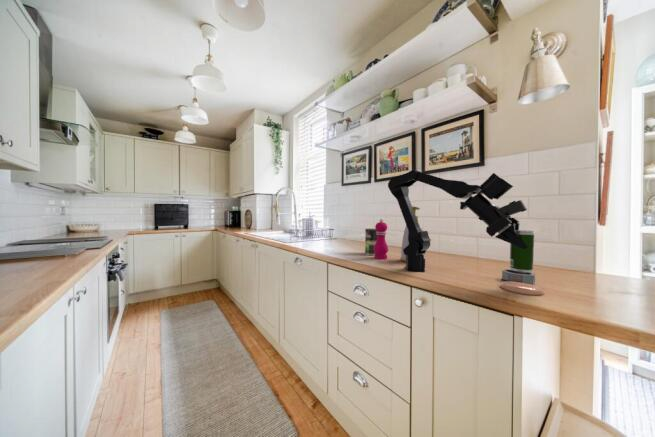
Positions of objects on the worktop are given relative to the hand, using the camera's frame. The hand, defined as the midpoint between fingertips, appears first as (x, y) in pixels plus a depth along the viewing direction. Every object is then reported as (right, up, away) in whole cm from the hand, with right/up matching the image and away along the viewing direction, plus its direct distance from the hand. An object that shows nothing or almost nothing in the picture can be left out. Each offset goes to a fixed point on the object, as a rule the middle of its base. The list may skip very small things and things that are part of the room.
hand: (527, 247), depth 68 cm
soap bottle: (-18, -12, +43) cm, 48 cm away
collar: (+6, -13, +10) cm, 18 cm away
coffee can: (-33, -12, +62) cm, 71 cm away
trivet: (-1, -13, +1) cm, 13 cm away
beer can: (-1, -7, +1) cm, 7 cm away
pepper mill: (-32, -12, +50) cm, 60 cm away
